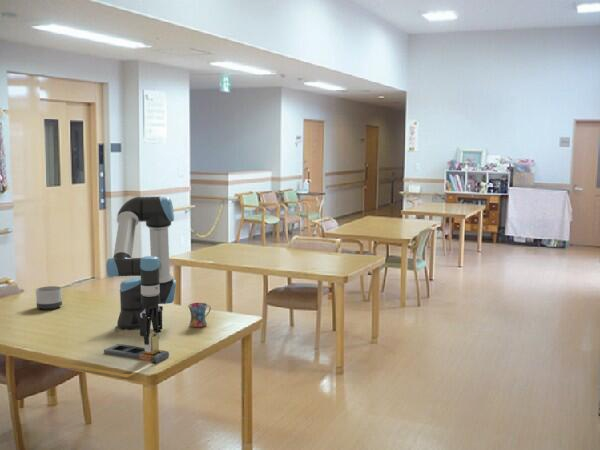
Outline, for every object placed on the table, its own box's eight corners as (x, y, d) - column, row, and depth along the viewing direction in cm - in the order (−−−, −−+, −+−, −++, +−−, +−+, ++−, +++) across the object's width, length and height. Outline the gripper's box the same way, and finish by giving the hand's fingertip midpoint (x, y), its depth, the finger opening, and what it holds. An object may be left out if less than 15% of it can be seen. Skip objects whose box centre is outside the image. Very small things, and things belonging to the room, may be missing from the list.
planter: (44, 304, 349) (43, 285, 348) (66, 305, 347) (65, 286, 346) (31, 310, 337) (31, 291, 335) (54, 311, 335) (53, 291, 334)
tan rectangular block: (145, 357, 259) (144, 336, 257) (150, 354, 262) (150, 333, 261) (153, 358, 257) (152, 337, 256) (158, 355, 261) (158, 334, 260)
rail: (103, 355, 264) (103, 349, 263) (118, 349, 272) (118, 343, 272) (155, 364, 254) (155, 357, 253) (168, 357, 262) (168, 351, 262)
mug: (195, 329, 302) (194, 308, 300) (184, 325, 308) (184, 304, 307) (216, 325, 310) (215, 304, 308) (205, 321, 316) (205, 300, 315)
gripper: (144, 300, 247) (146, 357, 250) (170, 290, 263) (171, 344, 266) (129, 298, 250) (131, 354, 253) (155, 289, 266) (157, 342, 269)
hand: (151, 349), depth 259 cm, fingers open, 4 cm apart
